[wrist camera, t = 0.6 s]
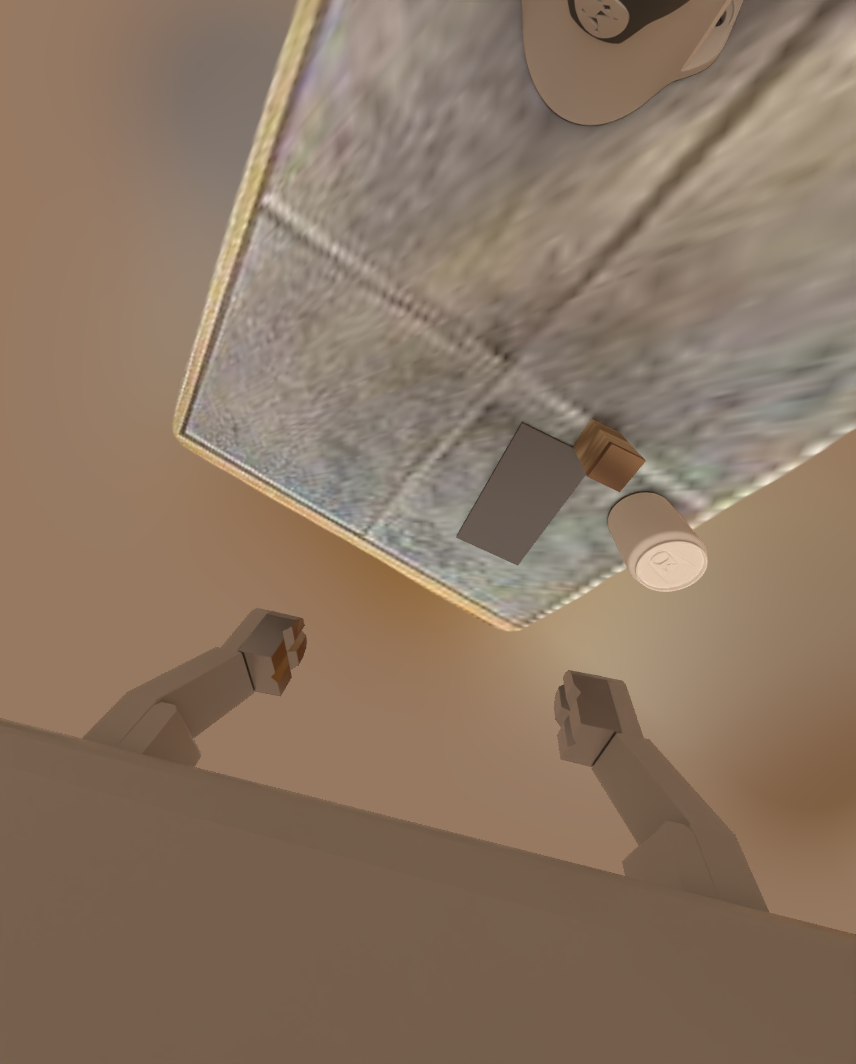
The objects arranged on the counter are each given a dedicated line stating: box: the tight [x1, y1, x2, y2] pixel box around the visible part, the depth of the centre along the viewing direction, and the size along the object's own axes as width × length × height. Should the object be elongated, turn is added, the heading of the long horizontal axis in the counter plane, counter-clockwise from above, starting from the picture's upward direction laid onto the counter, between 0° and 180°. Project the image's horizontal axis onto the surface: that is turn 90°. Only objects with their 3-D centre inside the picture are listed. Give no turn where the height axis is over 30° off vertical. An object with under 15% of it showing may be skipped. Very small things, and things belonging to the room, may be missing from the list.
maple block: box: [573, 419, 645, 492], centre depth 42 cm, size 4×4×10 cm
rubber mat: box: [456, 422, 586, 565], centre depth 52 cm, size 20×11×1 cm, turn 157°
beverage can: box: [608, 492, 708, 592], centre depth 45 cm, size 8×8×12 cm
